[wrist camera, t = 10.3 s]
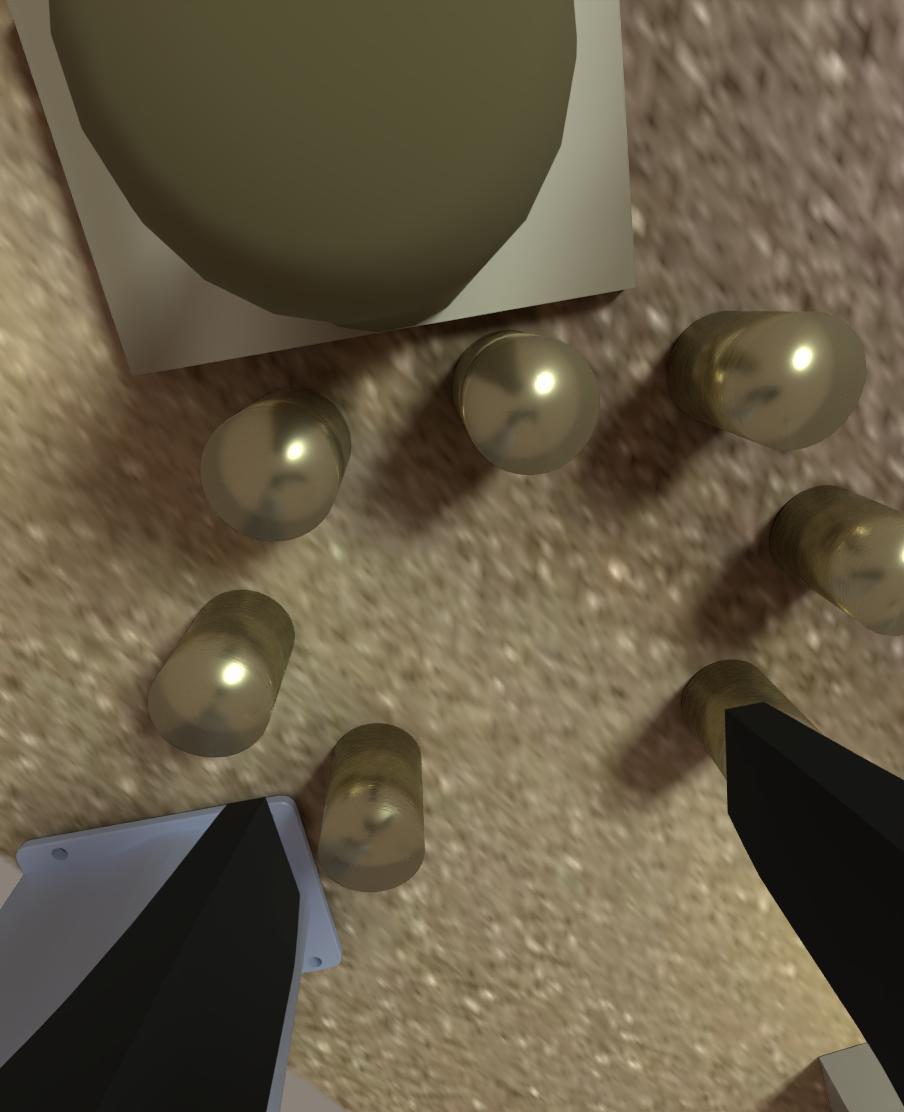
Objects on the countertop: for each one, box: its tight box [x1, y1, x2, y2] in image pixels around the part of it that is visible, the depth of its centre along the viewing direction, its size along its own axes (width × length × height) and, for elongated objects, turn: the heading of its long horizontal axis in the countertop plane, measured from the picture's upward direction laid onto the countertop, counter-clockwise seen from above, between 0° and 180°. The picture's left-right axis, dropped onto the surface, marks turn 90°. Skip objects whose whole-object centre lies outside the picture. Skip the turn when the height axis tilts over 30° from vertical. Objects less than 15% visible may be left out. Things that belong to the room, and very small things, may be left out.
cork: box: [49, 0, 577, 333], centre depth 10 cm, size 6×6×11 cm
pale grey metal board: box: [7, 0, 636, 376], centre depth 16 cm, size 13×8×1 cm, turn 99°
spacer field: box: [148, 311, 904, 892], centre depth 18 cm, size 21×14×4 cm
